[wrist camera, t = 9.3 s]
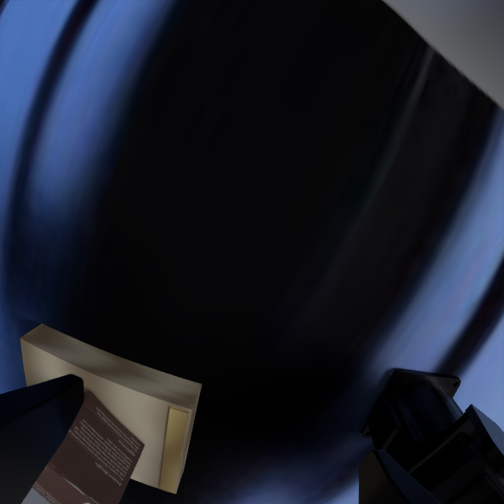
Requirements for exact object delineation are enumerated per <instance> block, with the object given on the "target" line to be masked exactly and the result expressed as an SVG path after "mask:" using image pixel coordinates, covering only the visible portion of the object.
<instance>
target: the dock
mask: <svg viewBox="0 0 504 504" xmlns="http://www.w3.org/2000/svg"><path fill="white" fill-rule="evenodd" d="M20 341H21V350H22V358H23V365H24V372H25V378H26V384H27V387H28V386H31V385H34V384H38V383H41V382H45V381H48V380H51V379H54V378H58V377H61V376H64V375H67V374H74V375H76V376H79V377H81V378H82V379H83V381H84V392H86V391H88V390H90V391H91V392H92V393H93V394H94V396H95V397H96V398H97V399H98V400H99V401H100V402H101V403H102V404H103V405H104V406H105V407H106V408H107V409H108V410H109V411H110V412H111V414H112V415H114V417H116V418H117V419H118V421H119V422H120V423H121V424H123V425H124V426H125V427H126V428H127V429H128V430H129V431H130V432H131V433H132V434H133V435H134V436H135V437H137V438H138V439H139V440H140V441H141V442H142V443H143V444H144V445H145V446H144V449H143V451H142V454H141V456H140V458H139V460H138V463H137V465H136V466H135V469H134V471H133V473H132V475H131V479H134V480H136V481H139V482H142V483H145V484H147V485H150V486H153V487H156V488H159V489H162V490H165V491H168V492H171V493H175V494H176V492H177V489H178V486H179V483H180V480H181V477H182V474H183V471H184V466H185V461H186V456H187V451H188V447H189V442H190V437H191V432H192V428H193V423H194V418H195V414H196V409H197V404H198V400H199V395H200V391H201V386H202V384H200V383H196V382H193V381H189V380H186V379H183V378H180V377H176V376H173V375H170V374H167V373H164V372H161V371H158V370H155V369H152V368H149V367H146V366H143V365H140V364H138V363H135V362H132V361H129V360H127V359H124V358H121V357H119V356H116V355H113V354H111V353H108V352H106V351H103V350H101V349H98V348H96V347H93V346H91V345H89V344H86V343H84V342H81V341H79V340H77V339H75V338H72V337H70V336H68V335H65V334H63V333H61V332H59V331H57V330H55V329H52V328H50V327H48V326H46V325H44V324H40V325H39V326H37V327H36V328H34V329H33V330H31V331H30V332H28V333H27V334H25V335H24V336H22V337H21V338H20Z"/></svg>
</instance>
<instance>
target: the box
mask: <svg viewBox="0 0 504 504" xmlns="http://www.w3.org/2000/svg"><path fill="white" fill-rule="evenodd" d="M84 396H85V399H84V403H83V405H82V407H81V409H80V411H79V413H78V415H77V417H76V419H75V420H74V422H73V424H72V426H71V428H70V430H69V432H68V434H67V436H66V437H65V439H64V441H63V442H62V444H61V445H60V447H59V448H58V450H57V451H56V453H55V454H54V455H53V457H52V458H51V460H50V461H49V463H48V464H47V466H46V467H45V469H44V470H43V472H42V473H41V475H40V476H39V478H38V479H37V481H36V482H35V484H34V485H33V488H34V489H35V490H36V491H37V492H38V493H39V494H41V495H42V496H43V497H44V498H45V499H46V500H48V501H49V502H50V503H51V504H119V502H120V500H121V497H122V495H123V493H124V490H125V488H126V486H127V484H128V482H129V479H130V478H131V475H132V473H133V471H134V469H135V466H136V465H137V463H138V460H139V458H140V456H141V454H142V451H143V449H144V446H145V445H144V444H143V443H142V442H141V441H140V440H139V439H138V438H137V437H135V436H134V435H133V434H132V433H131V432H130V431H129V430H128V429H127V428H126V427H125V426H124V425H123V424H121V423H120V422H119V421H118V419H117V418H116V417H114V415H112V414H111V412H110V411H109V410H108V409H107V408H106V407H105V406H104V405H103V404H102V403H101V402H100V401H99V400H98V399H97V398H96V397H95V396H94V394H93V393H92V392H91V391H90V390H88V391H86V392H84Z"/></svg>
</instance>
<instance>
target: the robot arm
mask: <svg viewBox="0 0 504 504" xmlns="http://www.w3.org/2000/svg"><path fill="white" fill-rule="evenodd" d="M398 375H401V376H400V377H398V378H396V377H397V376H398ZM454 383H455V384H454ZM460 383H461V381H460V379H459V378H458V377H456V376H448V375H439V374H432V373H424V372H417V371H410V370H403V369H397V370H395V371H394V372H393V373H392V375H391V377H390V379H389V381H388V383H387V385H386V387H385V389H384V391H383V393H382V394H381V395H380V396H379V398H378V399H377V401H376V403H375V405H374V407H373V409H372V410H371V412H370V414H369V416H368V418H367V419H366V421H367V422H366V423H365V425H364V427H363V429H362V431H361V433H362V436H363V437H364V438H372V440H373V443H374V446H375V449H376V450H372V451H371V452H370V453H369V454H368V456H367V457H366V459H365V460H364V462H363V463H362V464H361V466H360V469H359V504H504V432H503V431H502V430H501V429H500V427H499V426H498V425H497V424H496V423H495V422H493V421H492V420H491V419H490V418H488V417H487V416H486V415H485V414H483V413H482V412H481V411H480V410H478V409H477V408H476V407H475V406H474V405H472V404H471V405H470V406H469V407H468V408H467V409H466V410H465V411H466V412H465V413H463V412H462V411H461V409H460V408H459V406H458V405H457V403H456V402H455V401H454V399H453V396H454V395H455V393H456V391H457V389H458V387H459V386H460ZM84 399H85V396H84V381H83V379H82V378H81V377H79V376H76V375H74V374H67V375H64V376H61V377H58V378H54V379H51V380H48V381H45V382H41V383H38V384H34V385H31V386H28V387H24V388H21V389H17V390H13V391H10V392H6V393H3V394H0V504H21V503H22V502H23V500H24V499H25V497H26V496H27V494H28V493H29V491H30V490H31V488H32V487H33V485H34V484H35V482H36V481H37V479H38V478H39V476H40V475H41V473H42V472H43V470H44V469H45V467H46V466H47V464H48V463H49V461H50V460H51V458H52V457H53V455H54V454H55V453H56V451H57V450H58V448H59V447H60V445H61V444H62V442H63V441H64V439H65V437H66V436H67V434H68V432H69V430H70V428H71V426H72V424H73V422H74V420H75V419H76V417H77V415H78V413H79V411H80V409H81V407H82V405H83V403H84ZM368 431H369V432H368ZM366 432H368V433H366Z"/></svg>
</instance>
